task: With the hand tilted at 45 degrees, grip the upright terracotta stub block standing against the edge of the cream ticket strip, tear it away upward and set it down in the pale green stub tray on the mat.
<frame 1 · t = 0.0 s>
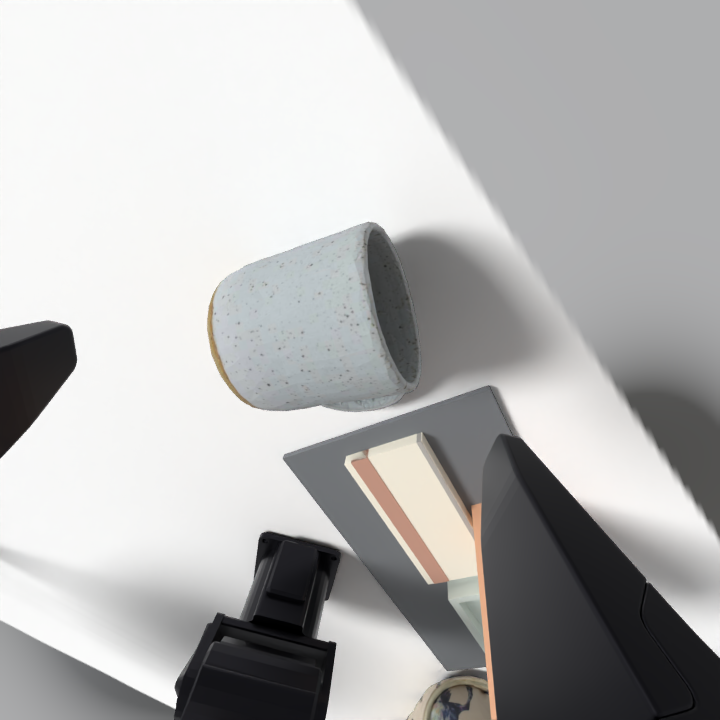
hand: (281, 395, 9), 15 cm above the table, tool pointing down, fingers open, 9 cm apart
ticket strip: (425, 511, 31), resting on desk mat
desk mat: (463, 559, 33), on the table
stub: (510, 518, 30), resting on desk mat
stub tray: (524, 604, 35), resting on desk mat
pencil case: (435, 707, 46), on the table, touching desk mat
ceramic mug: (348, 314, 25), on the table
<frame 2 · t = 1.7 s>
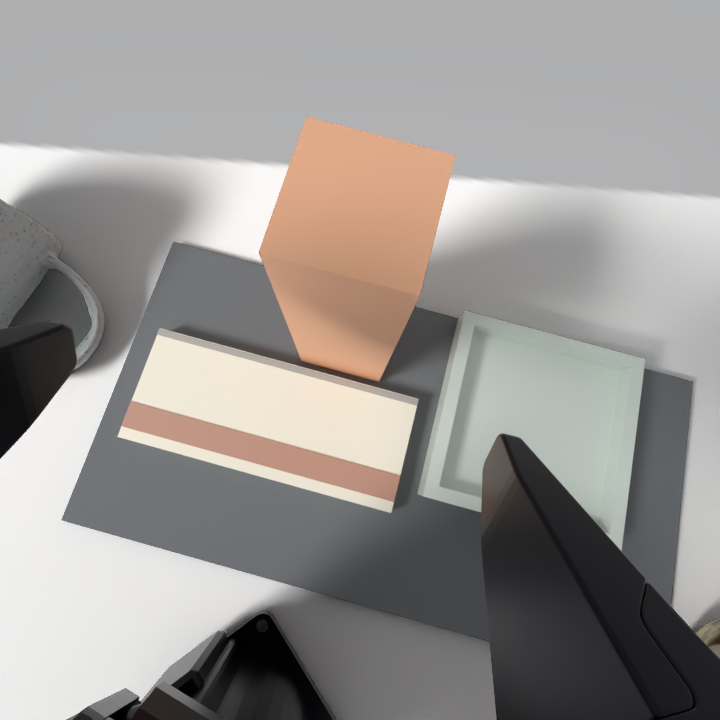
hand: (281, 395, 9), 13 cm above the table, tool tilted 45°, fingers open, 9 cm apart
ticket strip: (274, 418, 22), resting on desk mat
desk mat: (395, 446, 22), on the table
stub: (350, 334, 23), resting on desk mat
stub tray: (526, 426, 22), resting on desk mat
ceramic mug: (16, 305, 23), on the table
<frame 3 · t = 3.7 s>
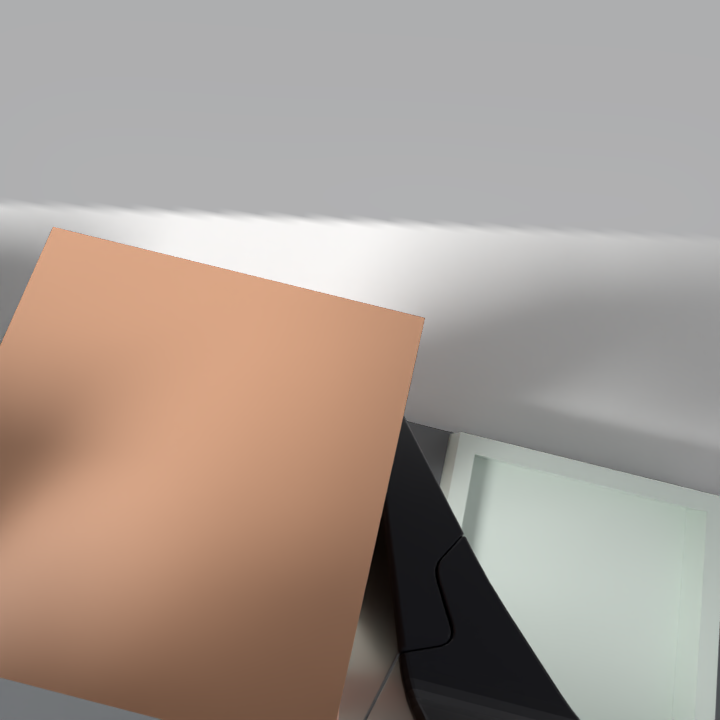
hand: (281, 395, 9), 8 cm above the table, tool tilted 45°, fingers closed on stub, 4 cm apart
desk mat: (364, 630, 15), on the table
stub: (297, 462, 16), resting on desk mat, touching gripper
stub tray: (553, 595, 15), resting on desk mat
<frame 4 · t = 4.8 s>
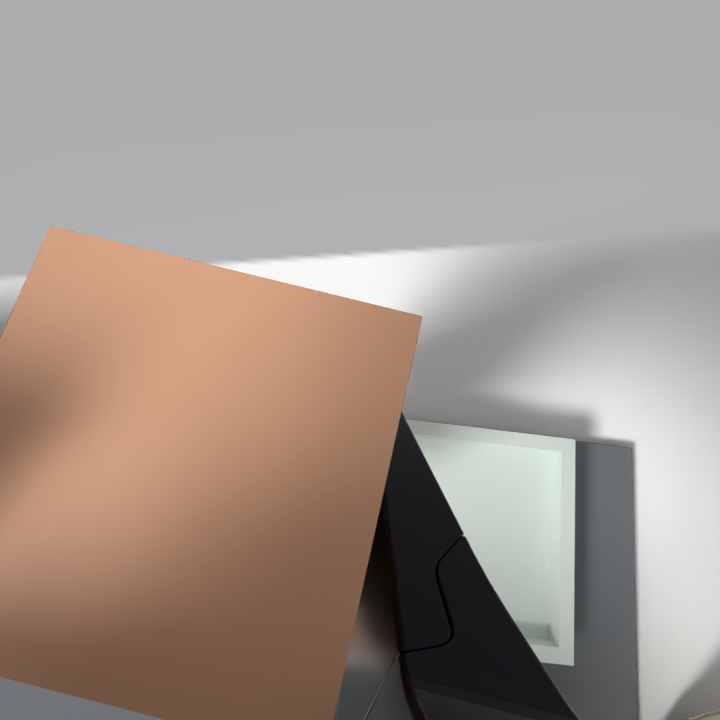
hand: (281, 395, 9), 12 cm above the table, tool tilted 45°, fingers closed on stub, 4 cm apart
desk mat: (321, 573, 20), on the table
stub: (296, 462, 16), point 5 cm above the table, touching gripper
stub tray: (460, 529, 20), resting on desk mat
when the fingers open (9 cm above the table, at t = 6.2 s): stub drops 1 cm, resting on stub tray.
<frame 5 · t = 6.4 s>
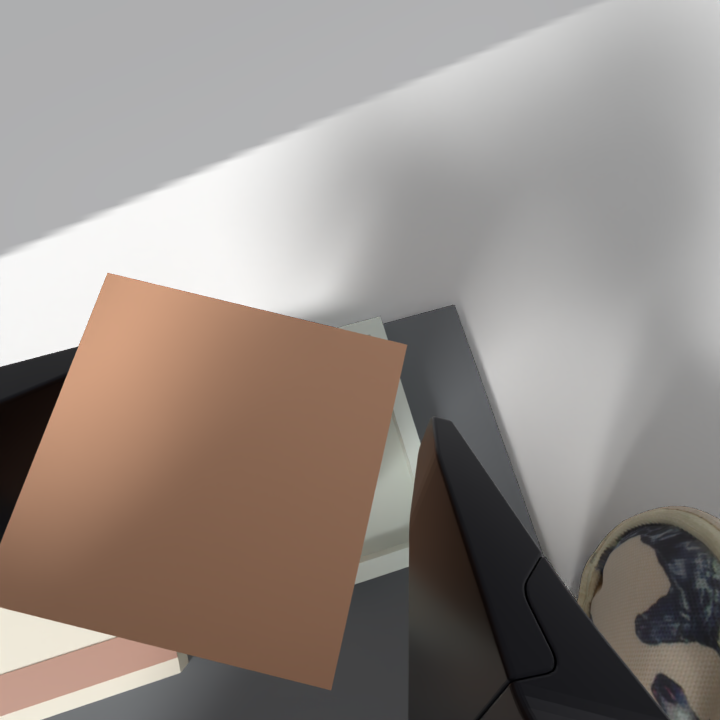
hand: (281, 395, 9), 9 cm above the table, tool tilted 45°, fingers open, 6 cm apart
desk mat: (165, 576, 17), on the table
stub: (299, 462, 17), point 1 cm above the table, touching stub tray
stub tray: (301, 462, 18), resting on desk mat
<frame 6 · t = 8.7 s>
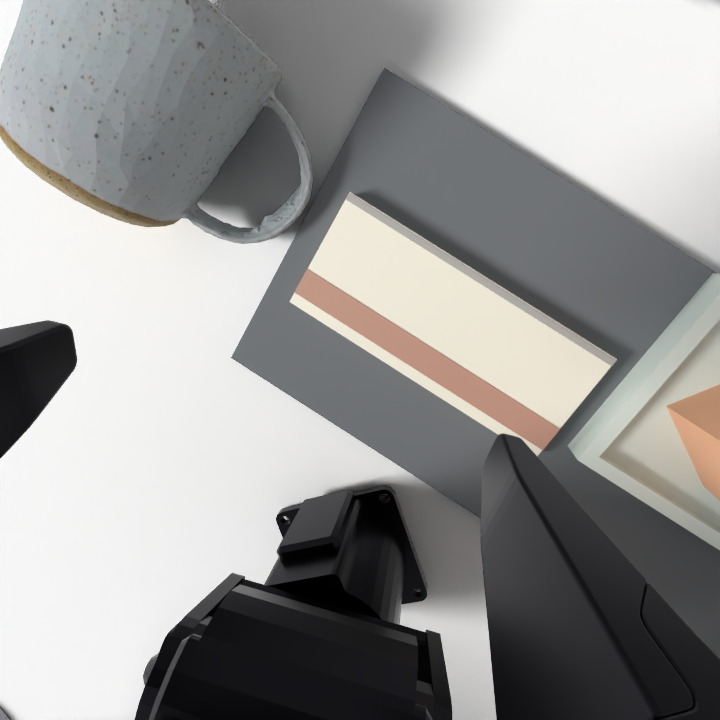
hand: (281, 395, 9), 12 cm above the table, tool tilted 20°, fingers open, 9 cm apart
ticket strip: (445, 326, 20), resting on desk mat
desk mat: (563, 392, 20), on the table
ceramic mug: (220, 134, 20), on the table
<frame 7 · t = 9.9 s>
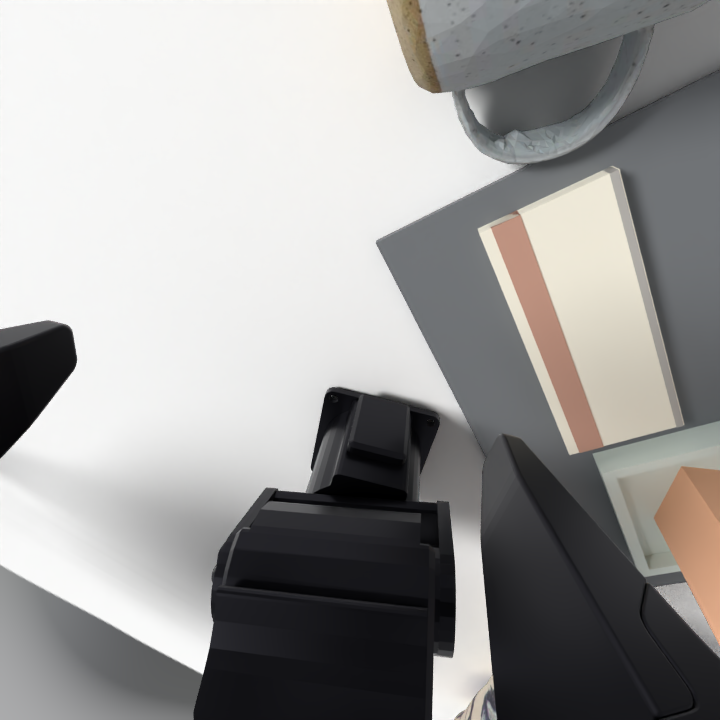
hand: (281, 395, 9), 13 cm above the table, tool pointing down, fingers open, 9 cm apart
ticket strip: (584, 329, 21), resting on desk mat
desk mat: (620, 418, 23), on the table
stub: (706, 497, 24), point 1 cm above the table, touching stub tray
stub tray: (700, 489, 25), resting on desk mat
pencil case: (530, 656, 36), on the table, touching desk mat
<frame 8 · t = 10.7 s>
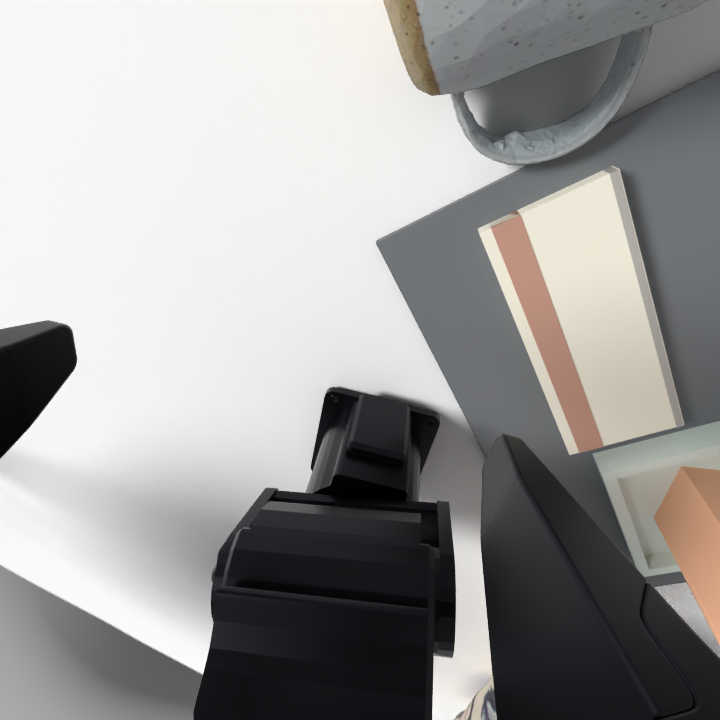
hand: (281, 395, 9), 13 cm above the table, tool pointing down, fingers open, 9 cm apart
ticket strip: (584, 329, 21), resting on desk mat
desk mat: (620, 418, 23), on the table
stub: (706, 497, 24), point 1 cm above the table, touching stub tray
stub tray: (700, 489, 25), resting on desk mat
pencil case: (530, 656, 36), on the table, touching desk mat
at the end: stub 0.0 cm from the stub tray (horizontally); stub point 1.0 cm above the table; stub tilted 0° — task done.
